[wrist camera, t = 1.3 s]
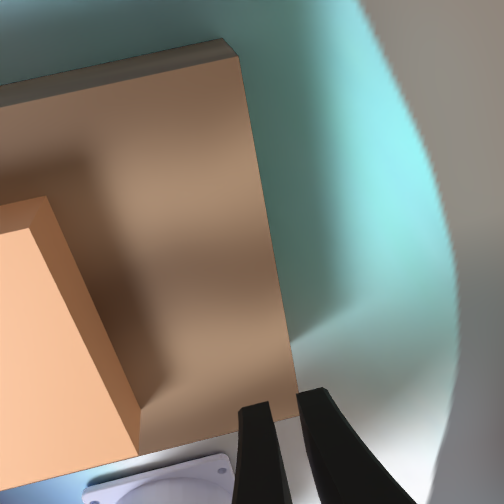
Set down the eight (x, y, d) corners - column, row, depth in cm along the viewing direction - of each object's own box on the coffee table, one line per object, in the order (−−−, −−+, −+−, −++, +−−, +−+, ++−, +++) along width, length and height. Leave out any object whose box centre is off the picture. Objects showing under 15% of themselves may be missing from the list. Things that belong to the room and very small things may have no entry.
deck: (282, 349, 23) (302, 414, 20) (-51, 431, 22) (-90, 514, 19) (222, 37, 16) (238, 56, 12) (-275, 144, 15) (-405, 195, 12)
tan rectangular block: (140, 410, 18) (138, 455, 16) (-18, 449, 18) (-38, 500, 16) (45, 195, 13) (28, 228, 12) (-172, 244, 13) (-223, 285, 11)
